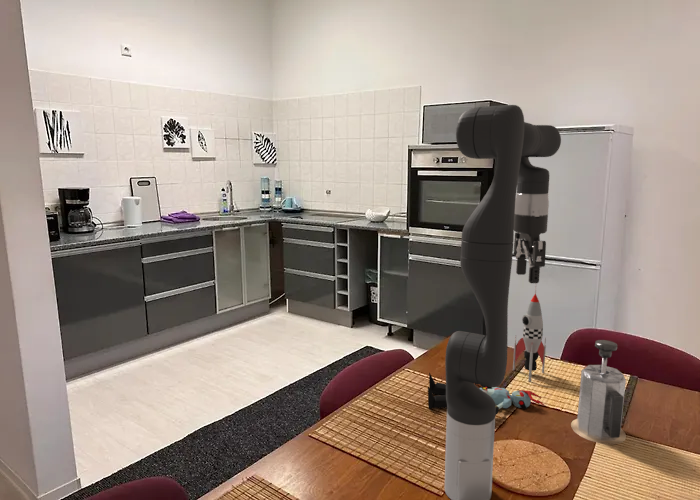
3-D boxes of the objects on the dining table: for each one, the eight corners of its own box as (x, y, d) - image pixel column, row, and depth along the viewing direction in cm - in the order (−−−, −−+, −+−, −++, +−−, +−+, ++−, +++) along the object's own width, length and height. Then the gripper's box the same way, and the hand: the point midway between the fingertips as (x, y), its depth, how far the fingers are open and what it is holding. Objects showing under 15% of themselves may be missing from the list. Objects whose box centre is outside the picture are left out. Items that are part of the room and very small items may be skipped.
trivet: (636, 446, 114) (636, 443, 114) (585, 446, 114) (585, 444, 114) (609, 419, 126) (609, 417, 125) (562, 419, 126) (562, 417, 125)
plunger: (619, 421, 116) (627, 348, 112) (592, 422, 116) (599, 348, 112) (605, 408, 122) (612, 338, 119) (580, 408, 122) (586, 338, 119)
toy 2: (510, 369, 155) (516, 277, 150) (533, 366, 158) (539, 275, 152) (529, 382, 147) (535, 285, 141) (552, 378, 149) (559, 282, 144)
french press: (634, 447, 112) (641, 385, 110) (593, 447, 112) (599, 386, 110) (607, 420, 124) (613, 363, 121) (570, 420, 124) (574, 364, 121)
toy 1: (430, 359, 148) (534, 362, 142) (431, 383, 150) (534, 387, 144) (426, 399, 124) (552, 404, 118) (427, 427, 125) (552, 434, 119)
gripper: (505, 209, 124) (502, 272, 127) (526, 216, 110) (522, 286, 113) (535, 209, 124) (531, 271, 127) (559, 215, 110) (554, 285, 113)
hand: (527, 278), depth 120 cm, fingers open, 8 cm apart
